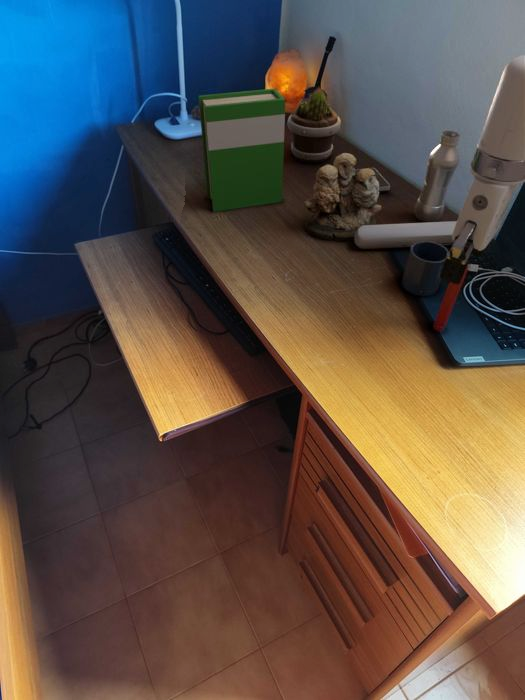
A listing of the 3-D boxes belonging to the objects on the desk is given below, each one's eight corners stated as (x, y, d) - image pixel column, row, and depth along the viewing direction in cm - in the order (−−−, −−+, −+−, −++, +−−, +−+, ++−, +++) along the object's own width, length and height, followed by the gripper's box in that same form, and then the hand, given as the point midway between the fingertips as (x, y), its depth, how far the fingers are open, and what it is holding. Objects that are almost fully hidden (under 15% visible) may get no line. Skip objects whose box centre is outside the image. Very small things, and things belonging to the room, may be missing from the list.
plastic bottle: (422, 208, 116) (446, 125, 101) (445, 220, 112) (473, 135, 97) (406, 217, 113) (428, 132, 98) (429, 229, 109) (455, 143, 95)
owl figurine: (308, 245, 104) (315, 171, 92) (296, 218, 112) (300, 147, 100) (384, 237, 107) (400, 164, 94) (366, 211, 115) (379, 140, 102)
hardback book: (213, 211, 114) (205, 107, 97) (207, 197, 119) (198, 95, 102) (281, 201, 118) (285, 99, 100) (272, 188, 123) (275, 88, 105)
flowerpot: (285, 145, 141) (288, 71, 127) (335, 146, 141) (344, 72, 127) (284, 166, 131) (288, 89, 117) (339, 167, 131) (349, 90, 117)
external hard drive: (373, 174, 128) (374, 167, 127) (389, 193, 121) (391, 186, 119) (349, 177, 127) (350, 170, 126) (364, 196, 120) (365, 189, 118)
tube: (358, 239, 99) (473, 234, 100) (354, 220, 101) (466, 215, 102) (353, 255, 104) (463, 249, 105) (350, 235, 106) (457, 231, 107)
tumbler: (443, 282, 95) (455, 249, 89) (429, 300, 91) (440, 267, 85) (410, 269, 98) (419, 236, 92) (395, 286, 94) (404, 253, 88)
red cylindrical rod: (445, 327, 86) (470, 264, 76) (441, 333, 85) (466, 270, 75) (435, 322, 87) (458, 260, 77) (431, 328, 86) (454, 266, 76)
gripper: (511, 195, 57) (464, 302, 69) (545, 149, 67) (499, 250, 79) (451, 177, 60) (417, 283, 72) (493, 136, 70) (456, 235, 82)
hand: (460, 265), depth 76 cm, fingers open, 9 cm apart
